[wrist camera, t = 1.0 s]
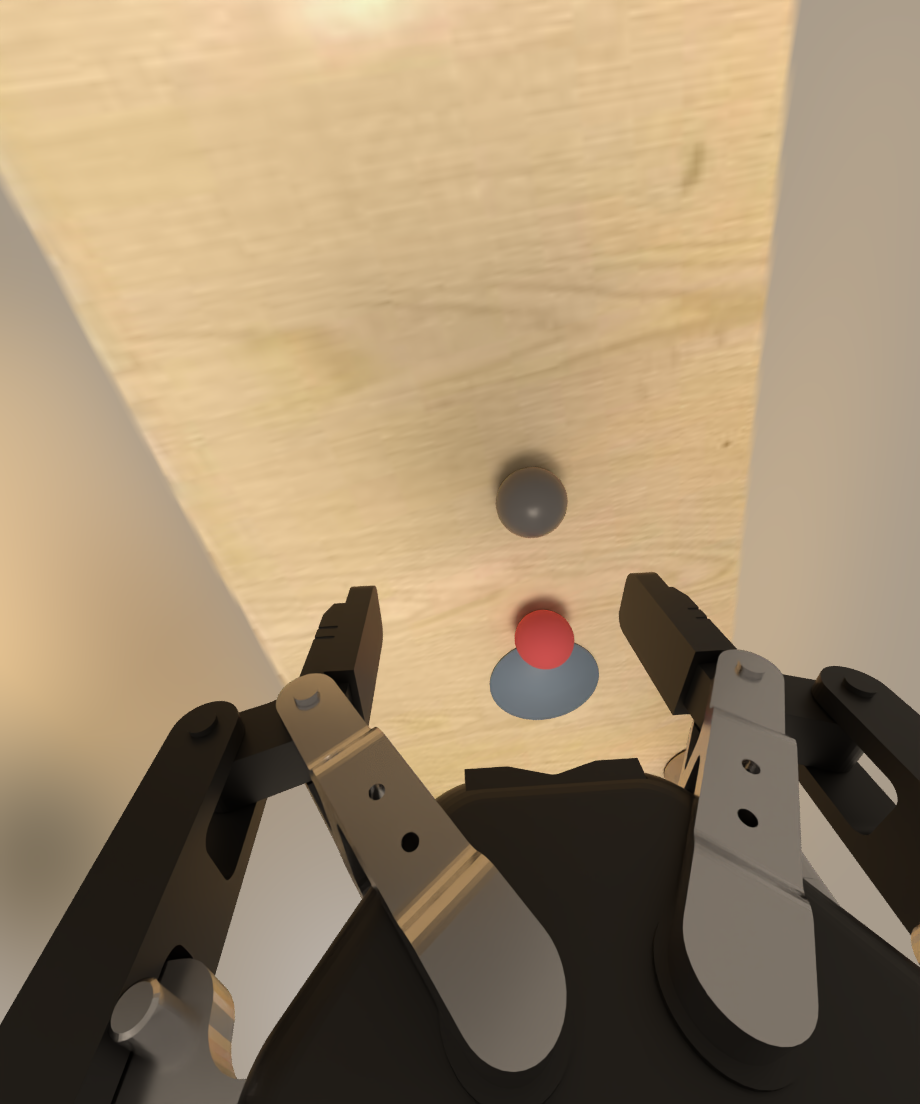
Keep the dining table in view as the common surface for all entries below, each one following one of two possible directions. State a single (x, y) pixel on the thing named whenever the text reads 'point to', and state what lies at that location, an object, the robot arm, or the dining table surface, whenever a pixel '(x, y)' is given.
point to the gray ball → (531, 502)
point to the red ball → (544, 639)
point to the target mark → (543, 685)
